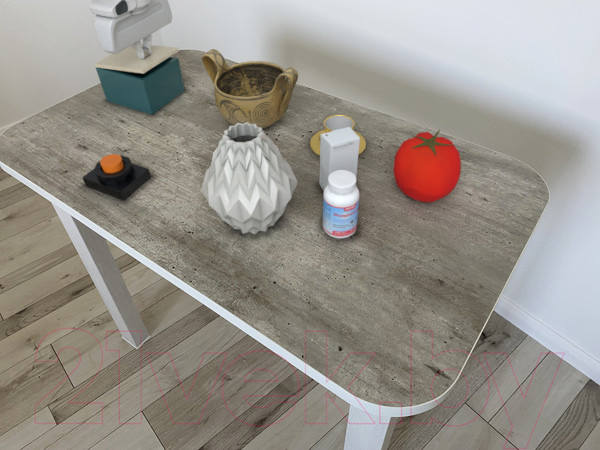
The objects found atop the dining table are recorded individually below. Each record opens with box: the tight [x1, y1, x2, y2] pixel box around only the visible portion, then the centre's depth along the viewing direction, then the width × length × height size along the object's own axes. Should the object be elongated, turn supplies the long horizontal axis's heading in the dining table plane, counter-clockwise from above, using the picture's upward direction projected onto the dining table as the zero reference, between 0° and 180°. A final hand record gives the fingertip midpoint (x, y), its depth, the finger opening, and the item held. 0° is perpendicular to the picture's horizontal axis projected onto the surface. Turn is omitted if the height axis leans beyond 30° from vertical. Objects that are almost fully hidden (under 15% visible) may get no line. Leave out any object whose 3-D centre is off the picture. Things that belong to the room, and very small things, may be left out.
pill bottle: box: [322, 170, 360, 239], centre depth 82 cm, size 6×6×11 cm
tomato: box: [393, 129, 462, 203], centre depth 88 cm, size 12×13×12 cm
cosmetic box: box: [318, 127, 360, 191], centre depth 90 cm, size 6×4×12 cm
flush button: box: [99, 153, 124, 173], centre depth 94 cm, size 4×4×2 cm
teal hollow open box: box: [95, 55, 186, 115], centre depth 118 cm, size 15×13×9 cm
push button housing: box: [81, 154, 152, 202], centre depth 95 cm, size 10×8×4 cm
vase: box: [200, 122, 299, 235], centre depth 82 cm, size 16×16×18 cm
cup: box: [309, 114, 367, 157], centre depth 102 cm, size 12×12×5 cm
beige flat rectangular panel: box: [94, 43, 180, 74], centre depth 114 cm, size 15×13×1 cm
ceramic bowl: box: [201, 48, 299, 130], centre depth 106 cm, size 22×17×15 cm
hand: (145, 56), depth 112 cm, fingers closed
